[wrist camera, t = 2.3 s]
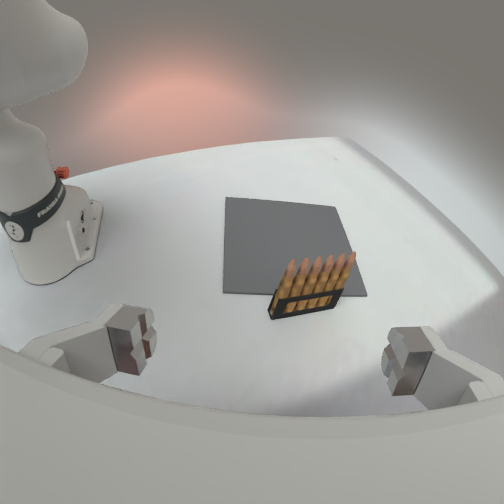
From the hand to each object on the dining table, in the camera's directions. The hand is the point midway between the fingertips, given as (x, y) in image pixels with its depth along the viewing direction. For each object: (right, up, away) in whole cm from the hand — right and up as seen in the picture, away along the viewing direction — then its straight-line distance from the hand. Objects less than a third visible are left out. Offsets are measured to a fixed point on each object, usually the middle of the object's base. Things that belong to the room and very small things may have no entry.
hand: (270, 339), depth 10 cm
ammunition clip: (+7, -6, +36) cm, 37 cm away
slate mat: (+6, +5, +46) cm, 46 cm away
